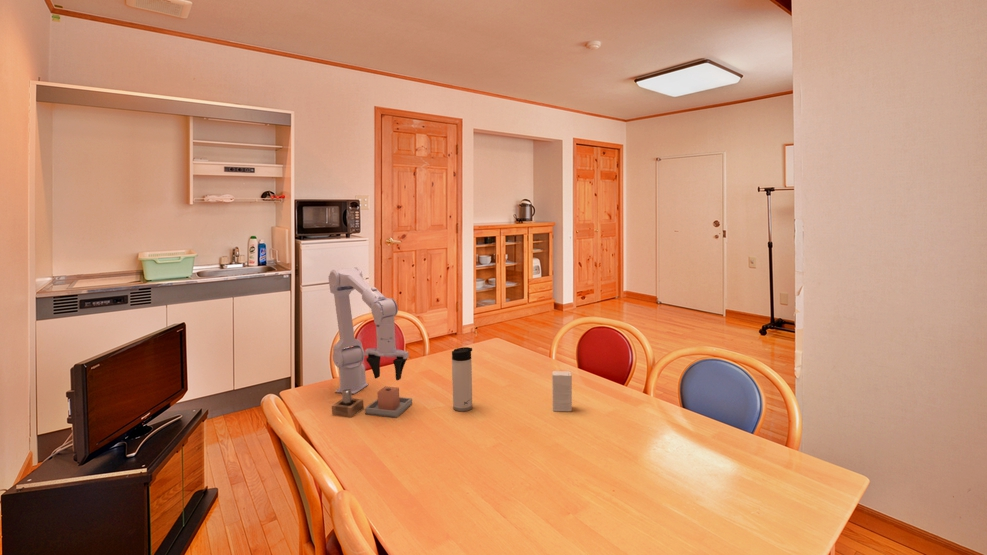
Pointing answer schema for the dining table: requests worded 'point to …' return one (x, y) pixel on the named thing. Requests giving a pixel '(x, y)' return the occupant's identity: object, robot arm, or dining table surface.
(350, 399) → the cylinder
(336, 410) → the brown square frame
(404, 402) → the tray
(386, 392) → the block
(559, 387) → the skincare box
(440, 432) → the dining table surface
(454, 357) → the travel mug
